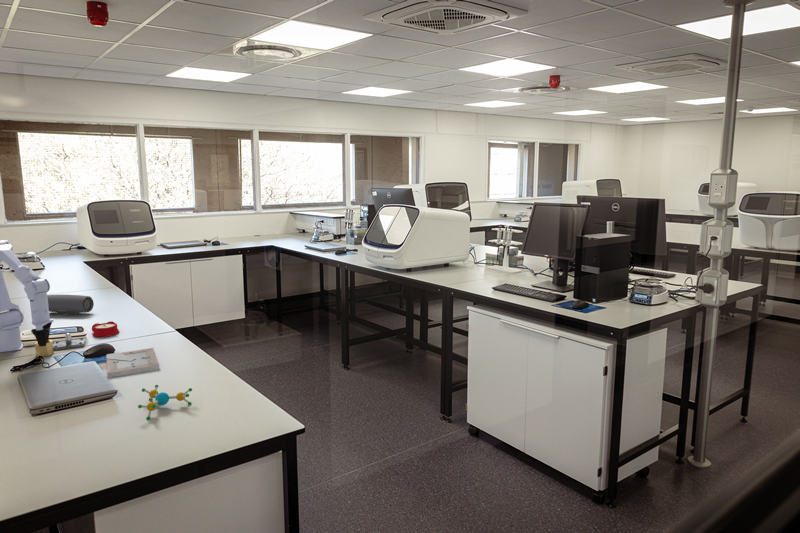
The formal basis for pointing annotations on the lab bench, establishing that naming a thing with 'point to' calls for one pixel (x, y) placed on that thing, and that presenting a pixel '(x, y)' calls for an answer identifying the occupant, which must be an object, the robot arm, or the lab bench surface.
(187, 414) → the lab bench surface
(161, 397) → the molecular model
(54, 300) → the bluetooth speaker
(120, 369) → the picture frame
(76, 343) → the block
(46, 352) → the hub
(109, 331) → the alarm clock
